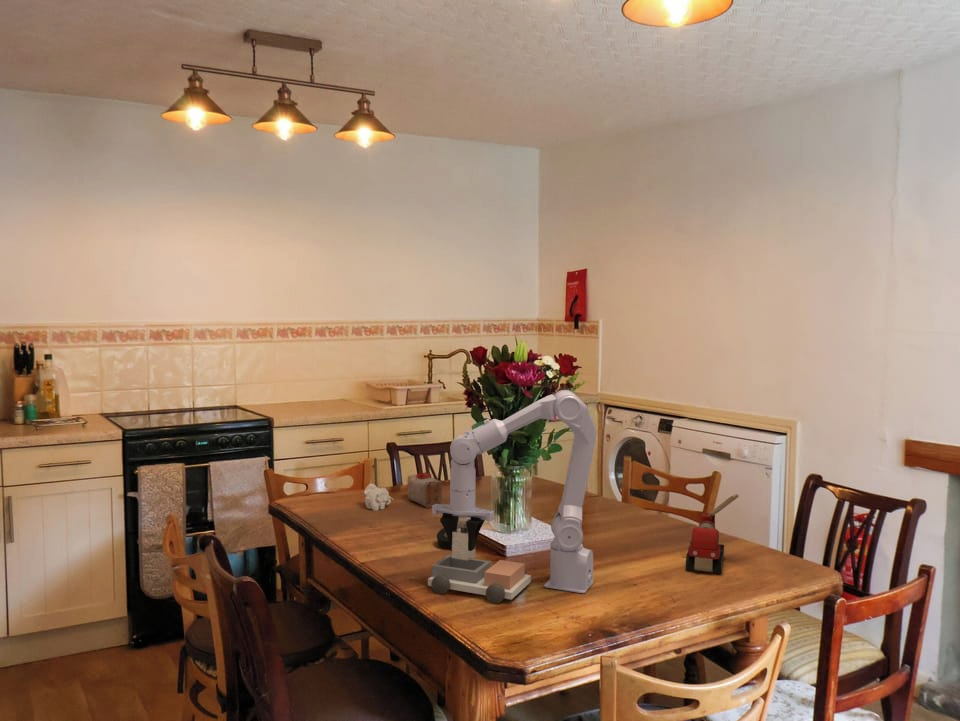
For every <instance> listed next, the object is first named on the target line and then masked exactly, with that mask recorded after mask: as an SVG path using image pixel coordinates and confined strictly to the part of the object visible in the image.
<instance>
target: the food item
mask: <svg viewBox="0 0 960 721" xmlns="http://www.w3.org/2000/svg"><path fill="white" fill-rule="evenodd" d="M406 482H407V489H406V490H407V494H408V495H407V496H408V497H407V498H408V500H409V501H412V502H414V503H416V504H419V505H420V506H422V507H425V508H427V509H430V508H431V509H432V506H433V505H435V504H443V482H442V481H441V480H438V479H436V478H434V477H432V472H430V473H429V472H427V471H425V472H419V473H415V474H411V475H407V481H406Z"/></svg>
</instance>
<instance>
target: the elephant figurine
mask: <svg viewBox="0 0 960 721" xmlns="http://www.w3.org/2000/svg"><path fill="white" fill-rule="evenodd" d="M364 495H365V496H366V497H364V498H365V505H366V508H367V509H369V510H370V509H371V510H372V511H374V512H376V511H379V510H384V509H385V507H386V506H385V505H387V506H388V505H390V504H391V501H392V500H393V501H395V499H394V498H393V497H392V496H390V494H389V491H388V490H387V488H385V487H381V488H380V487H377V485H376V484H374V483H369V484H368V485H367V486H366V487H365V489H364Z"/></svg>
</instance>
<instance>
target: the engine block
mask: <svg viewBox="0 0 960 721" xmlns="http://www.w3.org/2000/svg"><path fill="white" fill-rule="evenodd" d="M451 555H452V558H455V559H461V560H469V559H471V558H473V559H474V557H476V548H475V549H474V550H472V551H469V550H468V530H467V527H461V528H459V529H457V530H455V531H453V532H452V550H451Z"/></svg>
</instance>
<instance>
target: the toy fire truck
mask: <svg viewBox="0 0 960 721" xmlns="http://www.w3.org/2000/svg"><path fill="white" fill-rule="evenodd" d="M739 496H740V495H739V494H738V493H734V494H733V495H731V496H729V497H728V498H726V500H724V501H723V502H721V503H720V504H719V505H718V506H717V507H715V508H714V509H712V510H711V511H710V512H704V513H703V514H701V515H700V524H698V525H699V526H695V527H693V529H692V531H691V541H690V542H689V545H688V549H687V553H686V556H685V571H693V572H694V571H700V572H708V573H712V574H716V575H721V574H722V573H723V566H724V565H723V563H724V560H725V559H724V558H725V544H719V542H720V540H719V539H720V534H719V530H718V529H716V515H717V514H718V513H719V512H721V511H723V509H725V508H726V507H727V506H728V505H731V503H732V502H733V501H735V500H737V499H738V498H739Z"/></svg>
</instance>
